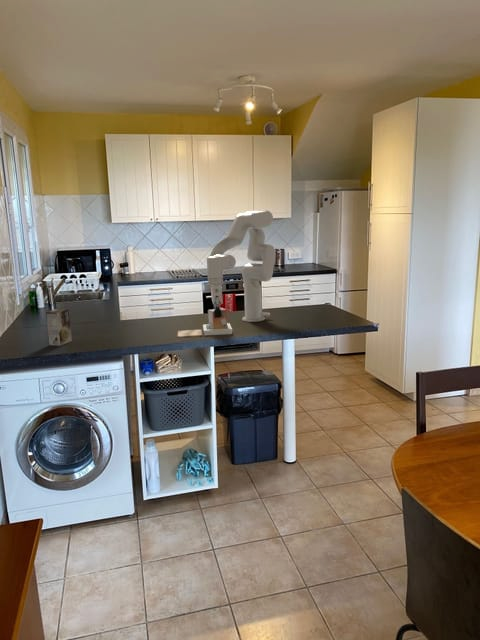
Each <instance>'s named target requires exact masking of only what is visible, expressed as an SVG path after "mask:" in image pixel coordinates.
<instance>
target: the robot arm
mask: <svg viewBox="0 0 480 640" xmlns="http://www.w3.org/2000/svg"><path fill="white" fill-rule="evenodd" d="M273 222H274V216H273V213H272V212H271V211H270V210H267V209H266V210H249V211H246V212H244V213H238V214H237V215H236V216H235V218H234V219H233V222H232V224H231V226H230V228H229V231H228V233H227V235H226V236H224V237H223V238H222V239H221V240H220V241H218V243H216V244H215V246H214V247H212V250H211V253H210V254H209V257H207V258H206V269H207V285H209V286H210V293H211V301H212V305H213V309H215V310H214V313H215V318H220V317H221V309H220V308H221V305H223V304H224V303H223V300H224V299H223V289H222V285H224V275H223V273H224V270H232V269H234V267H235V266H236V263H237V261H236V258H235V257H234V255H231V254H225V253H226V252H227V251H229V250H231V249H233V248H235V247H238V246H240V245H242V243H243V241H244V239H245V236H246V234H247V232H249V233H248V234H249V238H248V247H247V259H248V260H249V261H251V262H253V263H251V262H250V263H246V264H244V265H243V266H242V269H241V276H242V280H243V291H244V292H243V293H244V294H243V295H244V316H243V317H242V318H241V319H242V321H244V322H248V323H252V322H253V323H255V322H256V323H257V322H262V321H265V320H266V319H265V317H271V312H264V311H263V307H262V287H261V284H260V282H266V283H267V282H270V280H272V278H273V274H274V268H275V263H276V262H275V261H276V249H275V247H274V246H273V245H272V244H270V243H268V244H267V243H265V240H266V234H265V232H264V229H265V228H268V227H270V226H271V225H272V224H273ZM255 262H261V263H255Z"/></svg>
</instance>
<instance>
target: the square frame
mask: <svg viewBox="0 0 480 640" xmlns="http://www.w3.org/2000/svg"><path fill="white" fill-rule="evenodd" d="M202 331H203V335H204V336H217V335H218V336H219V335H221V336H223V335H232V334H233V328H232V326H231V323H230V322H227V329H212V330H209V323H208V324H202Z"/></svg>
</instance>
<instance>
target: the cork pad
mask: <svg viewBox="0 0 480 640" xmlns="http://www.w3.org/2000/svg"><path fill="white" fill-rule="evenodd" d="M202 331H203V330H202V329H190V330H189V329H187V330H177V338H191V337H195V338H196V337H203V332H202Z"/></svg>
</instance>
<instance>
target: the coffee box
mask: <svg viewBox="0 0 480 640" xmlns="http://www.w3.org/2000/svg"><path fill="white" fill-rule="evenodd" d="M69 312H70V311H69V309H68V308H55V309H51V310H49V311H46V312H45V316H46V324H47V331H48V339H49V346H56V347H57V346H58V347H59V346H60V347H61V346H63V345H65V344H68V343H70V342H72V341H73V337H72V330H71V321H70V313H69Z"/></svg>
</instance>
